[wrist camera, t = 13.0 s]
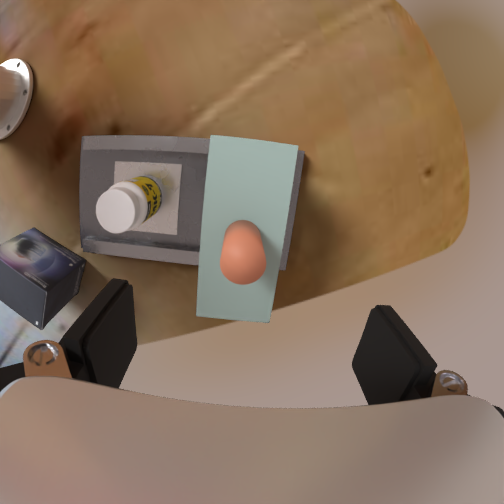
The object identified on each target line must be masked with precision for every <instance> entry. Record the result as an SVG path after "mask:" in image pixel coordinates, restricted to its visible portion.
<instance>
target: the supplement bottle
mask: <svg viewBox="0 0 504 504" xmlns="http://www.w3.org/2000/svg"><path fill="white" fill-rule="evenodd" d="M162 201H163V194H162V190H161V187H160V186H159V184H158V183H157V182H156V181H155V180H154V179H152V178H150V177H147V176H139V177H135V178H132V179H128V180H124V181H121V182H118V183H116V184H114V185H113V186H111V187H110V188H109V189H108V190H107V191H106V192H104V193H103V194H102V195H101V196H100V197H99V199H98V201H97V204H96V216H97V219H98V221H99V223H100V225H101V226H102V227H103V228H104V229H105V230H107V231H109V232H111V233H122V232H125V231H130V230H133V229H136V228H137V227H139V226H140V225H141V224H143V223H144V222H145V221H147V220H148V219H149V218H150V217H152V216H153V215H154V214H156V212H157V211H158V210H159V209H160V207H161V205H162Z"/></svg>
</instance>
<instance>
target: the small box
mask: <svg viewBox="0 0 504 504" xmlns="http://www.w3.org/2000/svg"><path fill="white" fill-rule="evenodd" d="M85 262H86V260H85V259H83V258H82V257H80V256H78V255H77V254H75V253H73V252H72V251H70V250H68V249H67V248H65V247H63V246H62V245H60V244H59V243H57V242H55V241H54V240H52V239H51V238H49V237H48V236H46V235H45V234H43V233H41V232H40V231H38V230H37V229H35V228H32V229H30V230H28V231H26V232H24V233H22V234H20V235H18V236H16V237H14V238H12V239H10V240H8V241H6V242H4V243H2V244H0V300H1V301H2V302H4V303H5V304H6V305H7V306H9V307H10V308H11V309H13V310H14V311H15V312H16V313H18V314H19V315H21V316H22V317H23V318H25V319H26V320H27V321H29V322H30V323H32V324H33V325H34V326H36V327H37V328H39V329H40V330H43V329H44V327H45V326H46V325H47V323H48V322H49V321H50V320H51V319H52V318H53V317H54V316H55V315H56V314H57V313H58V312H59V311H60V310H61V309H62V308H63V307H64V306H65V305H66V304H67V303H68V302H69V301H70V300H71V299H72V298H73V297H74V296H75V295H77V294H78V292H79V287H80V281H81V277H82V274H83V271H84V267H85Z"/></svg>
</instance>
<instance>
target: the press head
mask: <svg viewBox="0 0 504 504" xmlns="http://www.w3.org/2000/svg"><path fill="white" fill-rule="evenodd" d="M297 151H298V146H296V145H290V144H284V143H277V142H270V141H263V140H255V139H247V138H238V137H228V136H218V135H211V137H210V145H209V154H208V163H207V172H206V182H205V192H204V203H203V215H202V227H201V240H200V254H199V270H198V288H197V309H196V316H200V317H209V318H219V319H229V320H239V321H252V322H263V323H269V322H270V317H271V311H272V306H273V300H274V295H275V289H276V284H277V278H278V272H279V266H280V260H281V255H282V249H283V243H284V236H285V230H286V224H287V218H288V212H289V205H290V199H291V192H292V186H293V179H294V172H295V165H296V158H297Z"/></svg>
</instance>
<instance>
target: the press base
mask: <svg viewBox="0 0 504 504" xmlns="http://www.w3.org/2000/svg"><path fill="white" fill-rule="evenodd" d="M209 145H210V139H205V138H191V137H173V136H145V135H102V136H82V142H81V157H80V186H79V206H80V235H81V248H83V252H90V253H98V254H106V255H114V256H122V257H130V258H138V259H147V260H155V261H164V262H173V263H181V264H190V265H199V254H200V240H201V227H202V215H203V203H204V192H205V182H206V172H207V163H208V154H209ZM304 152H305V151H300V150H298V151H297V158H296V165H295V172H294V179H293V186H292V192H291V199H290V205H289V212H288V218H287V224H286V230H285V236H284V243H283V249H282V255H281V260H280V266H279V270H286V264H287V259H288V253H289V247H290V241H291V236H292V230H293V224H294V218H295V211H296V205H297V199H298V193H299V186H300V180H301V173H302V166H303V159H304ZM139 176H147V177H150V178H152V179H154V180H155V181H156V182H157V183H158V184H159V186H160V187H161V190H162V194H163V201H162V205H161V207H160V209H159V210H158V211H157V212H156V214H154V215H153V216H152V217H150V218H149V219H148V220H147V221H145V222H144V223H143V224H141V225H140V226H139V227H137V228H136V229H133V230H130V231H125V232H122V233H111V232H109V231H107V230H105V229H104V228H103V227H102V226H101V225H100V223H99V221H98V219H97V216H96V204H97V201H98V199H99V197H100V196H101V195H102V194H103V193H104V192H106V191H107V190H108V189H109V188H110V187H111V186H113V185H114V184H116V183H118V182H121V181H124V180H128V179H132V178H135V177H139ZM278 273H279V272H278Z"/></svg>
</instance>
